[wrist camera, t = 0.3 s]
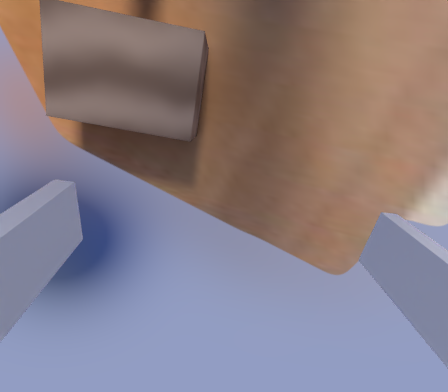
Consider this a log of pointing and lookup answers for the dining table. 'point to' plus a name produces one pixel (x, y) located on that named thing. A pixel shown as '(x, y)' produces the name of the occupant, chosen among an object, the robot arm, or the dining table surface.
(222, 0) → the dining table surface
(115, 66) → the walnut block
